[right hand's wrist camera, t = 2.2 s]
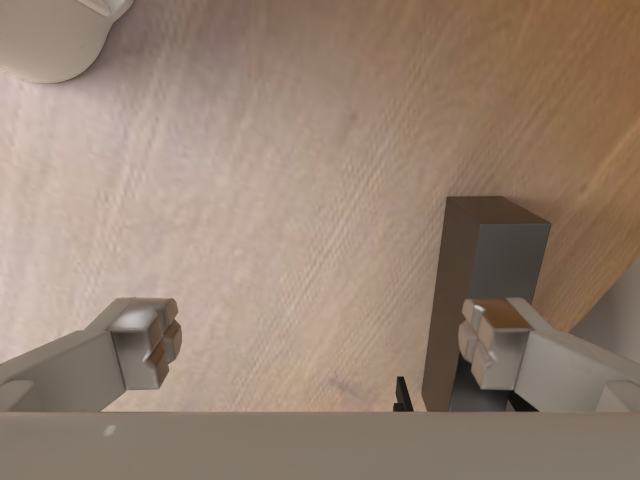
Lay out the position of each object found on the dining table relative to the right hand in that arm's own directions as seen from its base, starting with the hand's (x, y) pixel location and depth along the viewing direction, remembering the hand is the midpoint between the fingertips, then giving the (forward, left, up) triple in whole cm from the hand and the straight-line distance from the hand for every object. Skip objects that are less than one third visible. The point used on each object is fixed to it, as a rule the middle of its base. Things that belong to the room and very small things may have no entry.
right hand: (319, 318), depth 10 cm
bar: (+17, +16, -28) cm, 37 cm away
